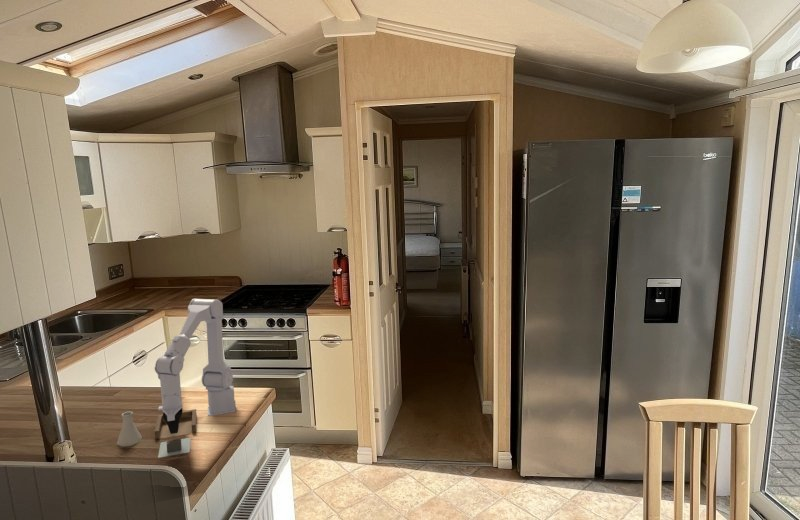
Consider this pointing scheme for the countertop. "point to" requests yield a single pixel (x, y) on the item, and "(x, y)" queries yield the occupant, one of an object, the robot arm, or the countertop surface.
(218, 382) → the robot arm
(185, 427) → the box
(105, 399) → the countertop surface
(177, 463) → the countertop surface
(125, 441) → the flask
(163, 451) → the cover plate
